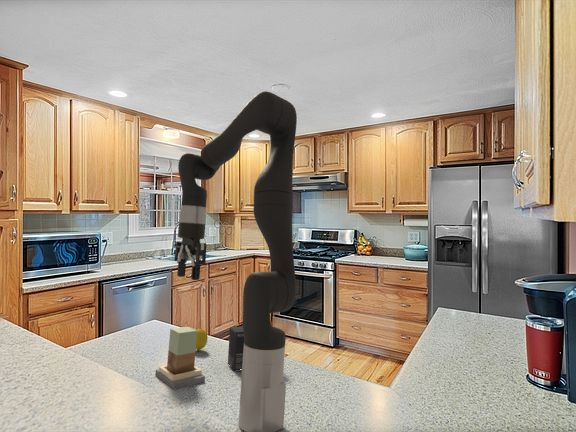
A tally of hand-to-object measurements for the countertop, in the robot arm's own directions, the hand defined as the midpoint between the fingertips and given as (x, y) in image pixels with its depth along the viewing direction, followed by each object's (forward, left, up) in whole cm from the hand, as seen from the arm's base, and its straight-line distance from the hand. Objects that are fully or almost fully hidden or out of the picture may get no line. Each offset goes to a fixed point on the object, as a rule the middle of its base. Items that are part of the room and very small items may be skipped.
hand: (187, 278), depth 102 cm
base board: (0, 0, -28) cm, 28 cm away
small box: (-3, -23, -28) cm, 36 cm away
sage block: (0, 0, -21) cm, 21 cm away
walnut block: (0, 0, -27) cm, 27 cm away
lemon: (+19, -17, -28) cm, 38 cm away
